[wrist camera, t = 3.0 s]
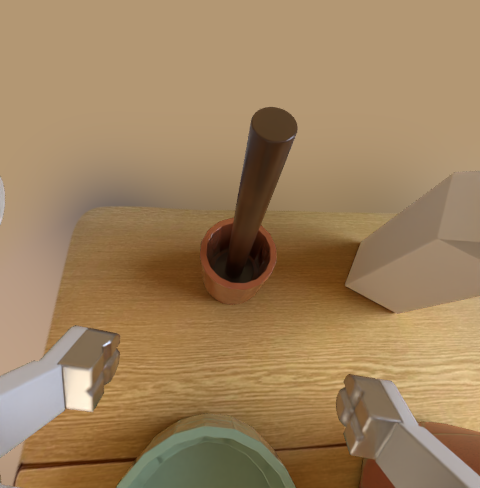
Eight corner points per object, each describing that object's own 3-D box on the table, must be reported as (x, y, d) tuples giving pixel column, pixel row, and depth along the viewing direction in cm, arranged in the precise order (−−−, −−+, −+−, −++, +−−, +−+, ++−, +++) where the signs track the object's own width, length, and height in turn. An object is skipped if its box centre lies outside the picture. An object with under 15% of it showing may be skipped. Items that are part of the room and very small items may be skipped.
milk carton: (343, 286, 33) (489, 211, 16) (360, 241, 36) (501, 136, 19) (396, 314, 33) (609, 269, 15) (409, 266, 36) (603, 181, 18)
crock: (191, 288, 31) (186, 268, 24) (218, 238, 34) (220, 206, 27) (247, 315, 31) (259, 302, 24) (270, 261, 34) (286, 236, 26)
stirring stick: (206, 281, 31) (200, 139, 11) (223, 248, 33) (246, 72, 12) (242, 298, 31) (308, 186, 10) (257, 264, 33) (339, 109, 12)
